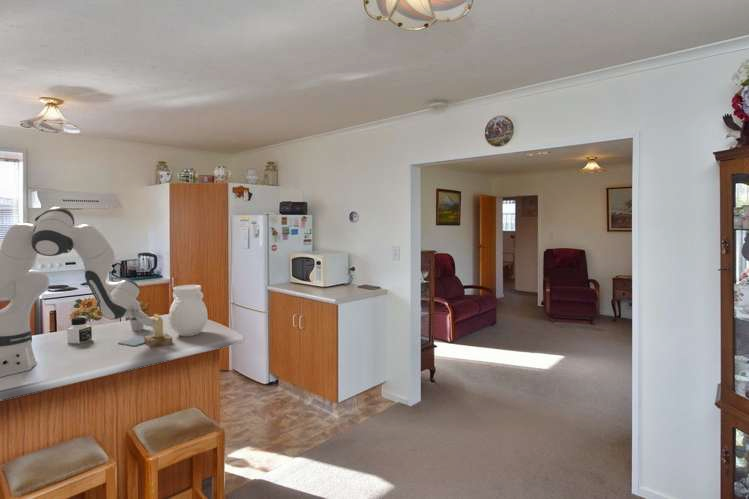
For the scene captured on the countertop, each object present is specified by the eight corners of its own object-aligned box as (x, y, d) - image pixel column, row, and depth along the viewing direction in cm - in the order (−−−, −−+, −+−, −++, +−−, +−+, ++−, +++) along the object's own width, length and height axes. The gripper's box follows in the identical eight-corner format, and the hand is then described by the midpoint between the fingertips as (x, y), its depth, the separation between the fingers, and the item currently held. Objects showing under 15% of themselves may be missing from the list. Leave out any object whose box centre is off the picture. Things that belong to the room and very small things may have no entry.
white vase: (160, 337, 217) (159, 288, 215) (186, 328, 234) (185, 283, 232) (191, 340, 211) (190, 290, 209) (215, 331, 229) (214, 284, 227)
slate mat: (134, 346, 201) (134, 345, 201) (118, 343, 205) (118, 342, 205) (154, 340, 211) (154, 339, 211) (138, 337, 215) (138, 336, 215)
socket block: (149, 347, 200) (149, 341, 199) (144, 342, 207) (144, 336, 207) (172, 343, 206) (172, 337, 206) (166, 339, 214) (166, 333, 213)
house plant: (129, 335, 219) (128, 304, 218) (115, 331, 226) (114, 301, 225) (156, 329, 231) (155, 299, 230) (141, 325, 239) (140, 296, 237)
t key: (156, 345, 202) (155, 317, 201) (152, 341, 208) (151, 314, 207) (164, 344, 205) (163, 316, 204) (160, 340, 211) (159, 313, 210)
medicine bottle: (79, 344, 204) (78, 319, 203) (67, 343, 206) (66, 318, 205) (92, 339, 211) (91, 315, 210) (80, 338, 213) (79, 315, 212)
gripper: (140, 306, 191) (164, 324, 197) (131, 299, 206) (154, 316, 213) (129, 317, 188) (154, 335, 195) (120, 310, 204) (144, 326, 211)
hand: (154, 325), depth 204 cm, fingers open, 8 cm apart
